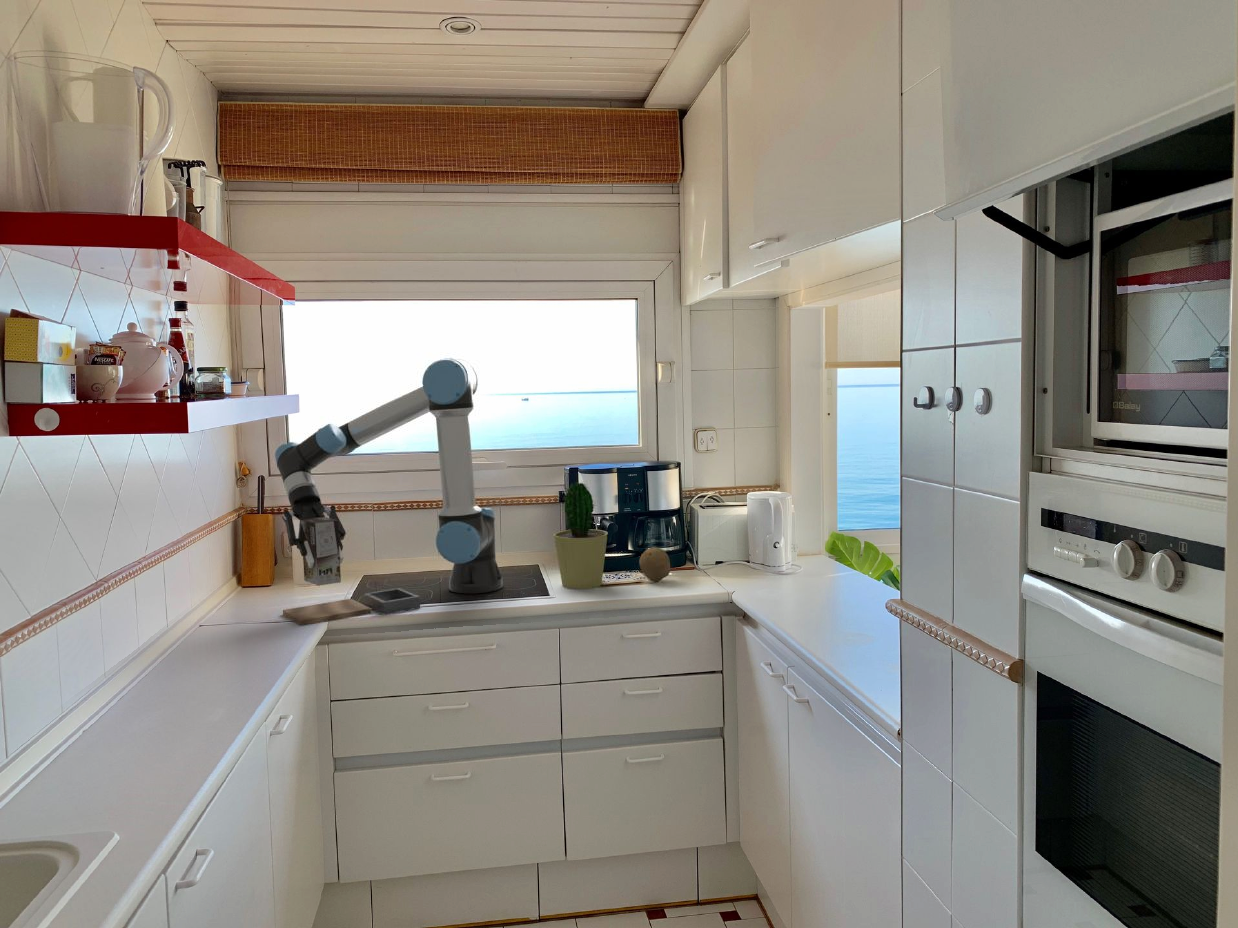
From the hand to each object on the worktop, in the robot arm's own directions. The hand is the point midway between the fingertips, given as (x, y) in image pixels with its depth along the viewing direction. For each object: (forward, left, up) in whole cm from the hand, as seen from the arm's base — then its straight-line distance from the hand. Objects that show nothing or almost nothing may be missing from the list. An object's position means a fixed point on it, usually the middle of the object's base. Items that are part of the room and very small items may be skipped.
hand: (326, 562), depth 233 cm
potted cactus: (-69, +14, -14) cm, 71 cm away
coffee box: (0, -4, -6) cm, 7 cm away
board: (-1, -3, -14) cm, 14 cm away
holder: (-16, +1, -14) cm, 21 cm away
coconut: (-86, +25, -14) cm, 91 cm away
